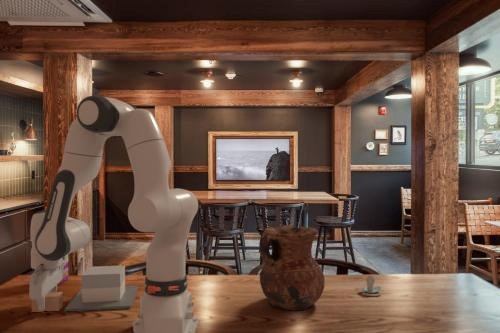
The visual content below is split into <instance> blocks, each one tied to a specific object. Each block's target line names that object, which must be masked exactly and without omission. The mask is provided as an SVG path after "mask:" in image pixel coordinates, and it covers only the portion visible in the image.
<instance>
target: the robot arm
mask: <svg viewBox="0 0 500 333" xmlns="http://www.w3.org/2000/svg"><path fill="white" fill-rule="evenodd" d="M111 137H112V138H113V139H119V138H122V140H123V141H124V145H125V149H126V152H127V155H128V160H129V162H130V166H131V169H132V173H133V180H134V191H133V192H134V193H133V197H132V200H131V202H130V203H129V206H128V209H127V217H128V218H127V219H128V221H129V223H130V225H131V226H132V227H133V228H134V229H135V230H137V231H138V232H141V233H143V232H144V233H154V235H153V238H152V240H151V242H150V244H149V245H148V247H147V249H146V251H145V255H146V257H145V259H146V260H145V261H146V263H145V264H146V266H145V268H146V269H145V270H146V273H145V274H146V276H145V277H144V285H143V286H144V293H143V294H142V295H140V297H139V298H140V304H139V305H140V307H139V308H140V311H139V312H140V313H138V316H137V318H138V319H136V320H135V321H133V323H132V329H133V330H132V331H133V333H196V331H197V329H198V326H199V324H200V318H199V317H197V316H194V311H193V310H194V309H193V307H194V302H193V293H191V291H189V290H188V274H186V257H187V256H186V251H187V244H188V238H189V236H190V235H189V234H190V229H191V226H192V224H193V220H194V218H195V216H196V214H197V213H198V210H199V201H198V198H197V196H196V195H195V194H194V193H193V192H192V191H190V190H188V189H183V188H177V187H176V188H170V186H169V173H170V171H171V170H172V166H173V164H172V160H171V157H170V153H169V151H168V148H167V143H166V142H165V138H164V135H163V132H162V130H161V128H160V126H159V124H158V122H157V120H156V118H155V116H154V115H153V113H152V112H151V111H150V110H148V109H145V108H137V107H136V106H135V105H133V104H131V103H130V102H129V103H128V102H126V101H122V100H119V99H117V98H114V97H107V96H102V95H89V96H86V97H84V98H82V100H81V101H80V102H78V105H77V108H76V119H74V120H73V121H72V122H71V124H70V126H69V130H68V131H67V135H66V139H65V143H64V147H63V149H64V151H63V154H62V161H61V164H60V167H59V170H58V171H57V174H56V176H55V178H54V180H53V181H52V182H53V183H52V186H51V188H50V192H49V197H48V201H47V205H46V207H45V208H46V209H45V210H41V211H40V210H39V211H37V212H35V213H33V215H32V217H31V221H30V242H31V249H30V268H31V269H32V270H34V271H33V272H32V273H31V275H30V278H29V286H28V288H29V289H28V290H29V291H28V292H29V293H28V296H29V299H30V300H31V301H32V300H36V301H37V304H38V310H44V309H45V308H46V303H45V300H44V299H45V296H46V295H47V294H48V293H50V292H58V291H57V289H58V286H57V284H58V283H59V282H60V281H61V280H62V278H63V269H64V261H63V260H64V259H65V256H66V255H67V254H68V255H70V254H72V253H75V252H77V251H78V250H81V249H83V248H84V247H86V246H88V244H89V243H90V242H91V239H92V231H91V227H90V225H89V224H88V223H87V222H85V221H84V220H82V219H76V218H74V217H71V216H70V210H71V207H72V204H73V201H74V197H75V196H76V195H77V193H78V192H79V191H81V189H82V188H83V187H84V186H87V185H88V184H89V183H91V182H92V181H94V179H96V178H97V176H98V175H99V172H100V169H101V168H102V167H101V166H102V162H103V161H102V160H103V154H104V146H105V143H106V141H107V139H109V138H111Z"/></svg>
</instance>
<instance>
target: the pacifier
mask: <svg viewBox="0 0 500 333" xmlns="http://www.w3.org/2000/svg"><path fill="white" fill-rule="evenodd" d="M375 280H376V279H375V277H374V276H372V275H367V276H366V278H365V282H366V287H364V286H359V288H360V289H361V290H362V291H363V292H362V293H361V294H362V295H364V296H367V297H379V296H381V295H382V293H381V292H379V291H381V288H382V287H381V286H380V285H379V286H374V284H375Z"/></svg>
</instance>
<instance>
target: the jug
mask: <svg viewBox="0 0 500 333" xmlns="http://www.w3.org/2000/svg"><path fill="white" fill-rule="evenodd" d="M318 233H319V230H318V229H316V228H315V227H314V228H313V227H305V226H302V225H300V226H299V227H298V226H294V225H292V224H291V225H290V224H288V225H287V224H286V225H282V226H279V227H272V226H269V227H266V228H265V229H264V230H263V232H262V234H261V236H260V238H259V239H260V240H259V244H258V245H259V253H260V256H261V257H260V258H262V262H263V266H262V268H261V270H260V273H259V283H260V288H261V290H262V292H263V294H264V297H265V298H266V299H267V300H268V301H269V303H270V304H271V305H272V306H273V307H275V308H278V309H281V310H286V311H295V312H296V311H303V310H307V309H309V308H311V306H313V305H314V304H315V303H316V302H318V301H319V299H321V297H322V295H323V293H324V288H325V282H326V281H325V278H326V277H325V275H324V272H323V269H322V267H321V266H320V265H319V263H318V262H317V261H316V260H315V258H314V257H313V255H312V248H313V243H314V240H315V237H316V236H317V235H318ZM270 247H271V248H270ZM270 249H271V252H270Z"/></svg>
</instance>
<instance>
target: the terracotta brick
mask: <svg viewBox="0 0 500 333" xmlns="http://www.w3.org/2000/svg"><path fill="white" fill-rule="evenodd" d="M44 300H45V303H46V308H45V309H44V310H38V304H37V301H36V300H31V312H32V311H53V310H60V308H61V307H62V306H63V307H64V293H63V291H56V292H49V293H48V294H47V295H46V296H45V299H44ZM63 307H62V308H63ZM60 311H61V310H60Z"/></svg>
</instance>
